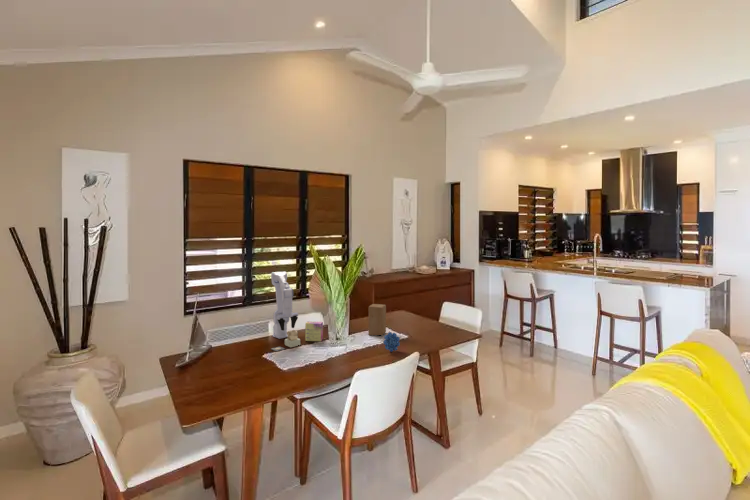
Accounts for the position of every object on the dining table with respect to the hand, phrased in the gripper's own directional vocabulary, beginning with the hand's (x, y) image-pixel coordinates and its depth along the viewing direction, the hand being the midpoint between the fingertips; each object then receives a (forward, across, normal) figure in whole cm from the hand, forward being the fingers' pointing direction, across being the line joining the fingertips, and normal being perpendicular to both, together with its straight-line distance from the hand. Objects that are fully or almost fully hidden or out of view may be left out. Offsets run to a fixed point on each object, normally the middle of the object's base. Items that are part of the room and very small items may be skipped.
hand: (287, 328), depth 238 cm
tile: (+10, -10, -5) cm, 15 cm away
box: (+10, +17, -5) cm, 20 cm away
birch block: (+6, +1, -4) cm, 7 cm away
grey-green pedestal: (+10, +1, -4) cm, 11 cm away
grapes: (+10, +34, -58) cm, 68 cm away
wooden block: (+10, +57, -24) cm, 63 cm away
